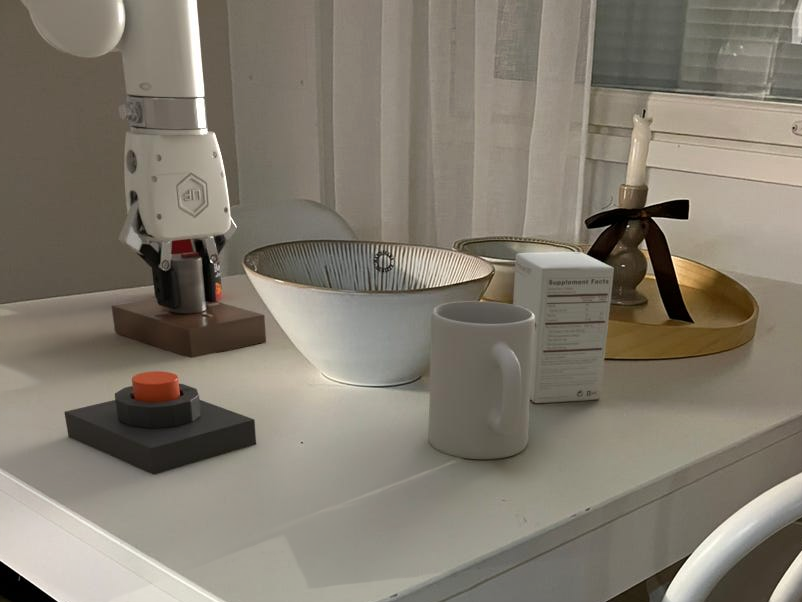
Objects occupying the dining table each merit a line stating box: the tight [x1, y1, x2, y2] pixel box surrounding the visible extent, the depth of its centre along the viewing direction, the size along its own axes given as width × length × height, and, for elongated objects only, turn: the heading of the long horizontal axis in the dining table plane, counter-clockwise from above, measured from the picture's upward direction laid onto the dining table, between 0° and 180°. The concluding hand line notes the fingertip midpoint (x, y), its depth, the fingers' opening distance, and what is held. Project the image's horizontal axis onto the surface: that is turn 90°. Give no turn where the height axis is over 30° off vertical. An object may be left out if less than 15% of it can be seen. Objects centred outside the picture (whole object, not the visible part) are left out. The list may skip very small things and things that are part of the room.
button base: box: [63, 383, 257, 475], centre depth 84 cm, size 12×10×4 cm
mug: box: [427, 300, 535, 460], centre depth 84 cm, size 12×8×11 cm
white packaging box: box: [512, 251, 615, 404], centre depth 99 cm, size 7×7×13 cm
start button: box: [131, 370, 180, 402], centre depth 83 cm, size 4×4×2 cm
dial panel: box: [111, 297, 267, 359], centre depth 113 cm, size 14×10×3 cm
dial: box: [169, 252, 206, 314], centre depth 111 cm, size 4×4×6 cm
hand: (187, 301), depth 112 cm, fingers closed on dial, 4 cm apart
